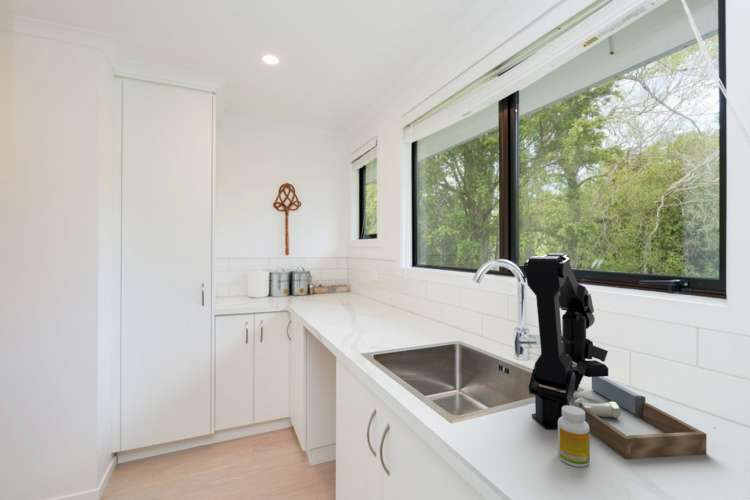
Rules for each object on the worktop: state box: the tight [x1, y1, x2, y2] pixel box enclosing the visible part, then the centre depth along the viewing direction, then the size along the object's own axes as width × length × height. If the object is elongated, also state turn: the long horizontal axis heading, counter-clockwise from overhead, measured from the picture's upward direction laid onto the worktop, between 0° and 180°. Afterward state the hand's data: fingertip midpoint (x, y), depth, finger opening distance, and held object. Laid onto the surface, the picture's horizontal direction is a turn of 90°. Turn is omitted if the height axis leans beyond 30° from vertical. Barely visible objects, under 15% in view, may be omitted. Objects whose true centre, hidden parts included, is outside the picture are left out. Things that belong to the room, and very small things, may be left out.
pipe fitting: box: [574, 396, 621, 419], centre depth 87 cm, size 8×4×7 cm
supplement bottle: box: [557, 404, 591, 468], centre depth 68 cm, size 5×5×10 cm
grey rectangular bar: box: [591, 376, 639, 415], centre depth 93 cm, size 15×2×4 cm, turn 5°
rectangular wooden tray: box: [579, 394, 707, 460], centre depth 77 cm, size 17×16×5 cm
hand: (574, 390), depth 97 cm, fingers closed
